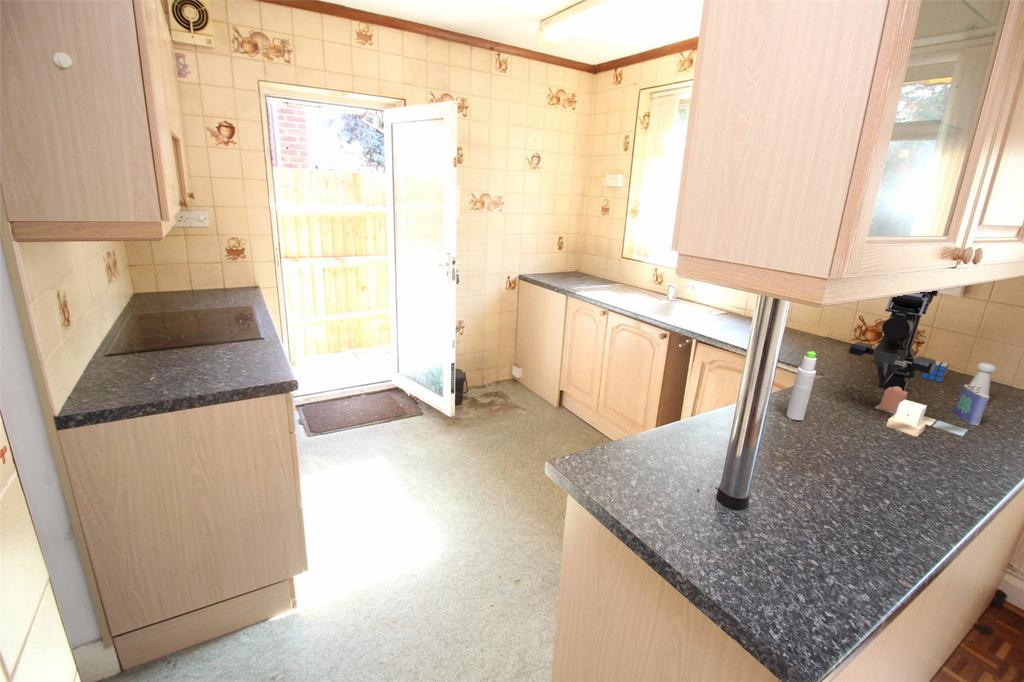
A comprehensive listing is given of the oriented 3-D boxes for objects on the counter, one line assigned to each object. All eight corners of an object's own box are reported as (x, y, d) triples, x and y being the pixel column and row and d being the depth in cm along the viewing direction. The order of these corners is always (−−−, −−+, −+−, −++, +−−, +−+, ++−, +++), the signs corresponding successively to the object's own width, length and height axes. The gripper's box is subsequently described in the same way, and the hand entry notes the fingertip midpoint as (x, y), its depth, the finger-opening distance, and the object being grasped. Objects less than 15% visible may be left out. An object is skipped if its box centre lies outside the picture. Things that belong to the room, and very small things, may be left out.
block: (885, 428, 134) (888, 419, 133) (893, 422, 139) (896, 413, 138) (916, 439, 129) (919, 429, 128) (923, 432, 133) (926, 422, 132)
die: (893, 419, 133) (899, 403, 132) (899, 415, 136) (904, 399, 135) (916, 426, 130) (922, 410, 128) (921, 422, 133) (927, 405, 131)
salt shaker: (976, 398, 161) (990, 361, 157) (990, 405, 155) (1005, 367, 151) (957, 396, 161) (971, 360, 157) (971, 403, 156) (985, 366, 152)
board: (871, 410, 146) (872, 408, 145) (881, 403, 151) (881, 401, 151) (961, 440, 130) (962, 437, 130) (968, 431, 136) (969, 429, 135)
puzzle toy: (920, 377, 178) (925, 362, 176) (923, 373, 181) (928, 359, 180) (941, 382, 173) (946, 367, 172) (943, 378, 177) (949, 363, 175)
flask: (980, 428, 138) (995, 391, 135) (967, 426, 139) (981, 389, 135) (960, 413, 147) (973, 379, 144) (948, 412, 148) (960, 377, 145)
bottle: (806, 420, 137) (824, 354, 130) (796, 423, 135) (814, 356, 128) (791, 413, 140) (808, 349, 134) (782, 416, 138) (799, 351, 132)
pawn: (879, 408, 146) (886, 385, 144) (884, 404, 149) (891, 382, 146) (897, 413, 143) (904, 390, 140) (901, 410, 145) (909, 387, 143)
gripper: (849, 327, 134) (834, 379, 139) (933, 346, 120) (914, 403, 125) (863, 322, 140) (848, 372, 145) (944, 340, 127) (925, 394, 131)
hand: (881, 384), depth 136 cm, fingers closed
